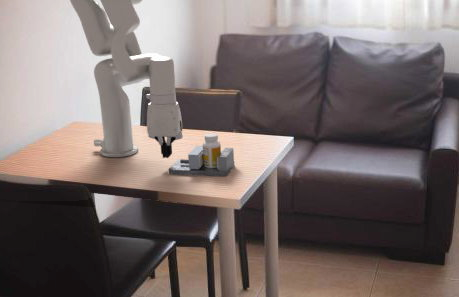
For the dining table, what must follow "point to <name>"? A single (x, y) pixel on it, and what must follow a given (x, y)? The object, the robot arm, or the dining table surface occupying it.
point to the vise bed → (223, 168)
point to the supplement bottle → (211, 150)
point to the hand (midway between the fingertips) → (166, 156)
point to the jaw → (195, 158)
